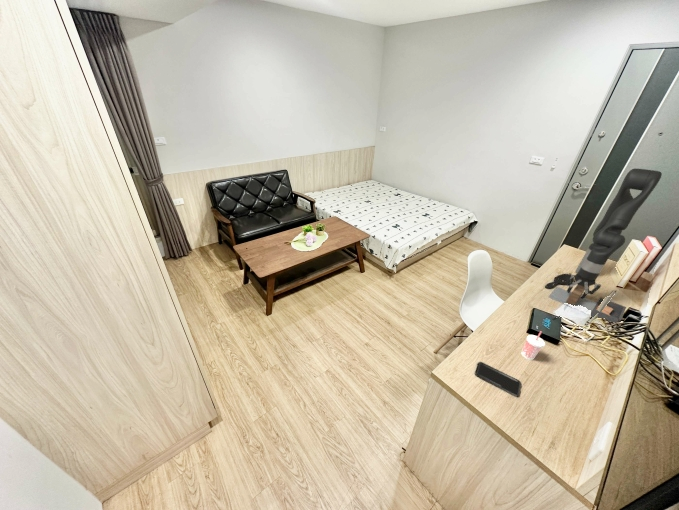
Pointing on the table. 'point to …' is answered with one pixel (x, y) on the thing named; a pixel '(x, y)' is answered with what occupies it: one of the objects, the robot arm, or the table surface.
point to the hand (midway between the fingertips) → (575, 295)
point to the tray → (614, 315)
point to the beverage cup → (532, 346)
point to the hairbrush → (559, 281)
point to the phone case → (579, 327)
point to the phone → (498, 379)
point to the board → (563, 295)
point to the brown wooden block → (575, 295)
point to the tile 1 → (607, 309)
